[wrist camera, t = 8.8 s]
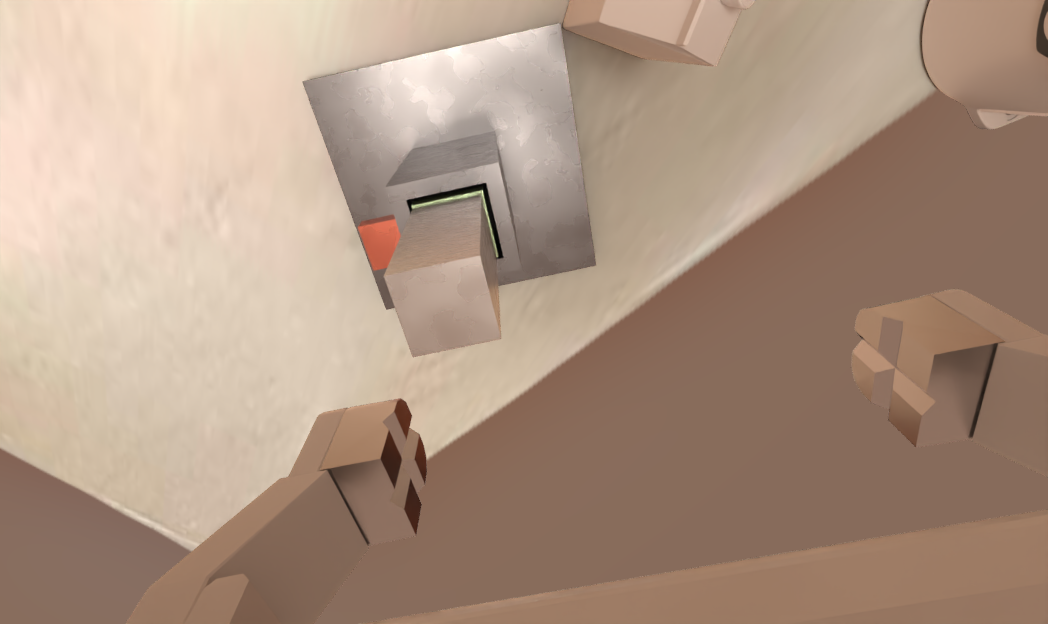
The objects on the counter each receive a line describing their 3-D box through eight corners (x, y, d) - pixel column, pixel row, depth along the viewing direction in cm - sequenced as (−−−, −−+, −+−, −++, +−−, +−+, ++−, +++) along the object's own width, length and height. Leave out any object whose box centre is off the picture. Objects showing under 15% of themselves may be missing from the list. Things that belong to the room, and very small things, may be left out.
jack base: (558, 23, 40) (590, 15, 28) (592, 259, 50) (629, 331, 37) (308, 80, 41) (231, 96, 28) (388, 302, 50) (357, 388, 38)
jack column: (482, 164, 38) (481, 252, 22) (496, 221, 40) (503, 340, 24) (424, 177, 38) (380, 274, 22) (440, 233, 40) (411, 359, 24)
